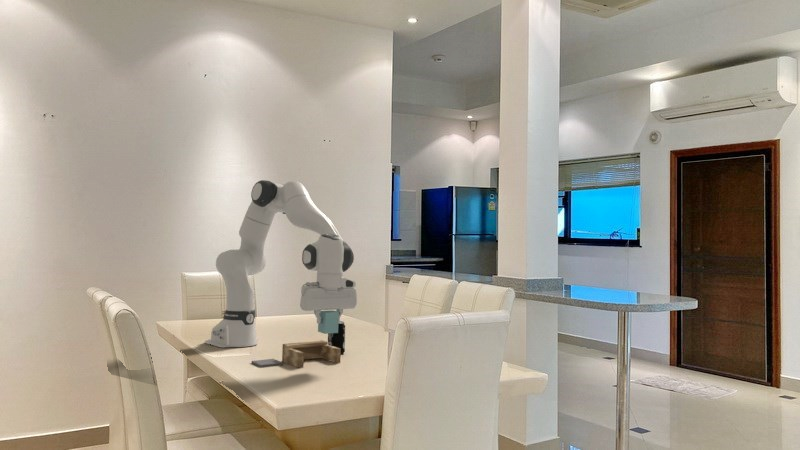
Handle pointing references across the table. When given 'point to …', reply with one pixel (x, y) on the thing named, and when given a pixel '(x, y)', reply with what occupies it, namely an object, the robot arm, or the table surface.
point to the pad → (267, 362)
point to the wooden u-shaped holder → (309, 352)
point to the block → (329, 322)
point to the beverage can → (338, 337)
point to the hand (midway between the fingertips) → (328, 322)
